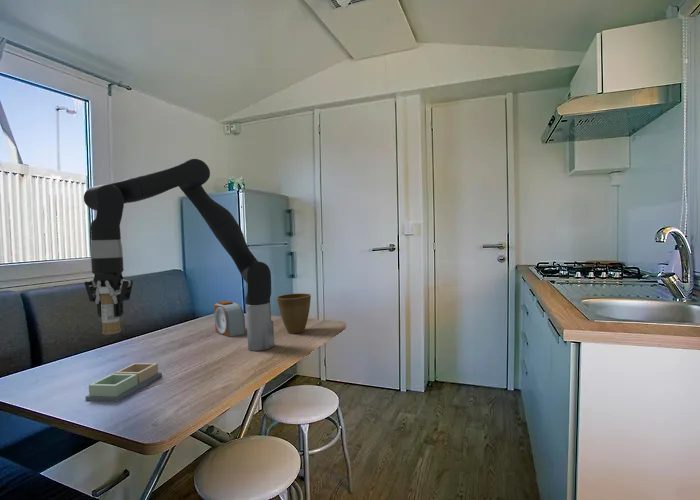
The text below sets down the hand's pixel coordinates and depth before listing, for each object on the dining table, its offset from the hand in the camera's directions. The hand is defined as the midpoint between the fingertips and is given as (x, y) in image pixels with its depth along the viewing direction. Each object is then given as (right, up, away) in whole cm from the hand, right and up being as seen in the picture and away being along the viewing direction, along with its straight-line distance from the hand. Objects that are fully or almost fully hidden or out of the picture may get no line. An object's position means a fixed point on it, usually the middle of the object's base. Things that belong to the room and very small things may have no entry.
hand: (110, 316), depth 105 cm
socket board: (+2, -22, +4) cm, 22 cm away
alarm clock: (+13, -19, +63) cm, 67 cm away
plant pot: (+44, -18, +60) cm, 76 cm away
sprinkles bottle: (0, -5, 0) cm, 5 cm away
